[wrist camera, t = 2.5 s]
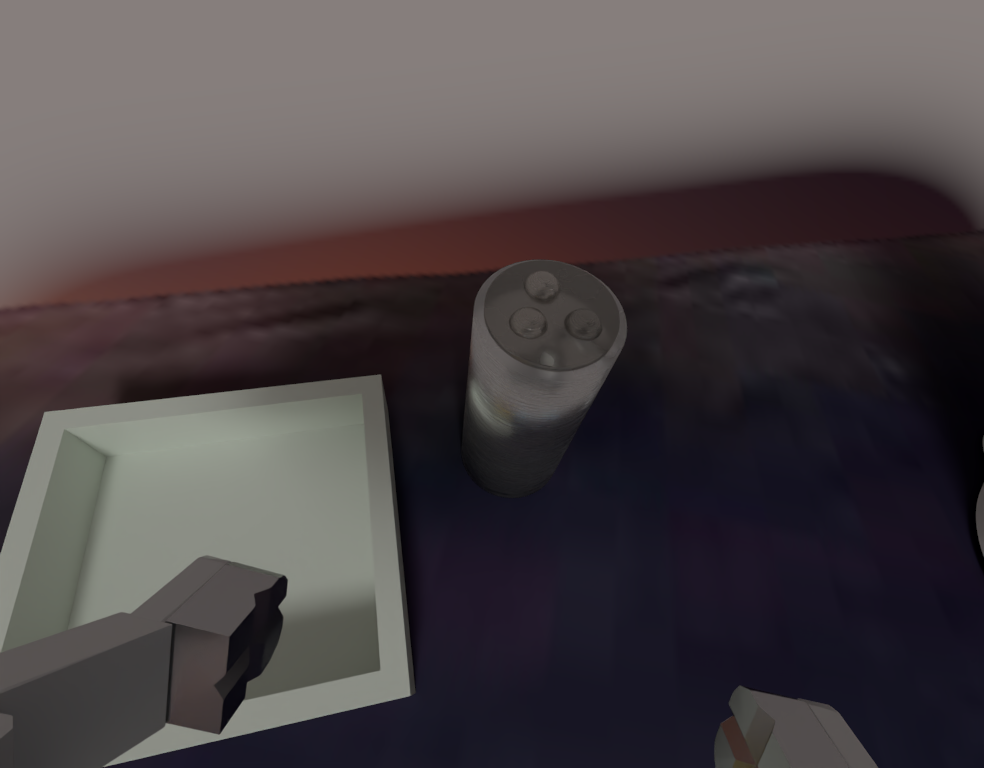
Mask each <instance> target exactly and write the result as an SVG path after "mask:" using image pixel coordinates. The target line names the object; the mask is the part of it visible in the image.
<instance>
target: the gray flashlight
mask: <svg viewBox="0 0 984 768" xmlns="http://www.w3.org/2000/svg"><path fill="white" fill-rule="evenodd" d="M626 334H627V322H626V317H625V314H624V311H623V308H622V306H621V304H620V302H619V300H618V299H617V297H616V296H615V294H614V293H613V292H612V291H611V290H610V289H609V287H607V286H606V285H605V284H604V283H603V282H602V281H601V280H599V279H598V278H597V277H595V276H594V275H592V274H590V273H589V272H587V271H585V270H583V269H581V268H579V267H576V266H573V265H570V264H567V263H563V262H559V261H553V260H527V261H522V262H517V263H514V264H511V265H508V266H506V267H504V268H502V269H500V270H498V271H497V272H495V273H494V274H492V275H491V276H490V277H489V278H488V279H487V280H486V281H485V282H484V284H483V285H482V286H481V288H480V290H479V291H478V294H477V296H476V299H475V304H474V312H473V323H472V334H471V345H470V356H469V367H468V379H467V390H466V401H465V412H464V423H463V434H462V445H461V455H462V461H463V464H464V467H465V469H466V471H467V473H468V475H469V476H470V477H471V479H472V480H473V481H474V482H475V483H476V484H477V485H478V486H479V487H481V488H482V489H483V490H485V491H487V492H489V493H491V494H493V495H496V496H500V497H505V498H520V497H524V496H528V495H531V494H533V493H535V492H537V491H538V490H540V489H541V488H542V487H544V486H545V485H546V484H547V483H548V481H549V480H550V479H551V477H552V475H553V473H554V472H555V470H556V468H557V466H558V464H559V462H560V461H561V459H562V457H563V455H564V453H565V452H566V450H567V448H568V446H569V444H570V443H571V441H572V439H573V437H574V435H575V433H576V432H577V430H578V428H579V426H580V424H581V423H582V421H583V419H584V417H585V415H586V414H587V412H588V410H589V408H590V406H591V404H592V403H593V401H594V399H595V397H596V395H597V394H598V392H599V390H600V388H601V386H602V385H603V383H604V381H605V379H606V377H607V375H608V374H609V372H610V370H611V368H612V366H613V365H614V363H615V361H616V359H617V357H618V356H619V354H620V352H621V350H622V348H623V346H624V343H625V340H626Z"/></svg>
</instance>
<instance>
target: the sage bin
mask: <svg viewBox="0 0 984 768" xmlns="http://www.w3.org/2000/svg"><path fill="white" fill-rule="evenodd" d="M206 555H209V556H213V557H216V558H220V559H224V560H228V561H231V562H237V563H241V564H244V565H248V566H252V567H256V568H259V569H263V570H267V571H271V572H274V573H278V574H282V575H285V576H286V578H287V579H288V585H287V596H286V597H285V599H284V600H283V601H282V602H281V604H280V605H279V606H278V607H279V609H280V611H281V613H282V615H283V617H284V619H283V626H282V631H281V635H280V638H279V642H278V644H277V647H276V649H275V651H274V653H273V655H272V657H271V660H270V662H269V663H268V665H267V666H266V668H265V669H264V671H263V672H262V674H261V675H260V676H258V677H256V678H254V679H252V680H251V681H249V682H247V687H246V695H245V699H244V700H243V702H242V703H241V705H240V706H239V707H238V709H237V710H236V712H235V713H234V715H233V716H232V718H231V719H230V720H229V722H228V723H227V725H226V726H225V728H224V729H223V731H222V732H221V734H220V735H218V734H214V733H209V732H205V731H200V730H195V729H191V728H186V727H182V726H177V725H172V724H168V723H166V724H165V727H164V728H162V729H161V730H159V731H158V732H156V733H155V734H153V735H152V736H150V737H148V738H147V739H145V740H144V741H142V742H141V743H139V744H137V745H136V746H134V747H133V748H131V749H130V750H128V751H127V752H125V753H123V754H122V755H120V756H119V757H117V758H116V759H114V760H113V761H111V762H109V763H108V764H106V765H105V766H110V765H114V764H118V763H123V762H127V761H131V760H135V759H140V758H144V757H148V756H153V755H157V754H161V753H166V752H170V751H174V750H179V749H183V748H187V747H192V746H196V745H200V744H205V743H209V742H213V741H217V740H222V739H226V738H230V737H235V736H239V735H243V734H248V733H252V732H256V731H261V730H265V729H269V728H274V727H278V726H282V725H287V724H291V723H295V722H300V721H304V720H308V719H312V718H317V717H321V716H325V715H330V714H334V713H338V712H343V711H347V710H351V709H356V708H360V707H364V706H369V705H373V704H377V703H382V702H386V701H390V700H394V699H399V698H403V697H407V696H411V695H413V694H414V693H415V682H414V672H413V662H412V651H411V641H410V631H409V620H408V610H407V600H406V589H405V579H404V569H403V558H402V548H401V538H400V527H399V517H398V507H397V496H396V486H395V476H394V465H393V455H392V445H391V434H390V424H389V414H388V407H387V402H386V397H385V392H384V387H383V382H382V377H381V374H380V375H371V376H363V377H354V378H345V379H336V380H327V381H318V382H309V383H300V384H291V385H283V386H274V387H265V388H256V389H247V390H238V391H229V392H220V393H211V394H203V395H194V396H185V397H176V398H167V399H158V400H149V401H140V402H131V403H123V404H114V405H105V406H96V407H87V408H78V409H69V410H60V411H51V412H45V413H44V416H43V419H42V423H41V426H40V429H39V432H38V435H37V439H36V442H35V445H34V448H33V451H32V455H31V458H30V461H29V464H28V467H27V471H26V474H25V477H24V480H23V484H22V487H21V490H20V493H19V496H18V500H17V503H16V506H15V509H14V512H13V516H12V519H11V522H10V525H9V528H8V532H7V535H6V538H5V541H4V544H3V548H2V551H1V554H0V653H1V652H4V651H7V650H10V649H13V648H16V647H19V646H22V645H25V644H28V643H31V642H34V641H37V640H40V639H43V638H46V637H48V636H51V635H54V634H57V633H60V632H63V631H66V630H69V629H72V628H75V627H78V626H81V625H84V624H87V623H90V622H93V621H96V620H99V619H102V618H105V617H108V616H111V615H113V614H116V613H119V612H125V613H129V614H131V613H132V612H133V611H134V610H136V609H137V608H138V607H139V606H141V605H142V604H143V603H144V602H145V601H147V600H148V599H149V598H150V597H151V596H153V595H154V594H155V593H156V592H157V591H159V590H160V589H161V588H162V587H163V586H165V585H166V584H167V583H168V582H169V581H171V580H172V579H173V578H174V577H175V576H177V575H178V574H179V573H180V572H181V571H183V570H184V569H185V568H186V567H187V566H189V565H190V564H191V563H192V562H193V561H195V560H196V559H197V558H199V557H202V556H206ZM105 766H103V767H105Z"/></svg>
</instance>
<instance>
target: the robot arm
mask: <svg viewBox="0 0 984 768" xmlns="http://www.w3.org/2000/svg"><path fill="white" fill-rule="evenodd" d="M983 451H984V436H983ZM976 526H977V533H978V538H979V543H980V546H981V550H982V553H983V556H984V483H983V486H982V488H981V491H980V493H979V496H978V500H977V506H976ZM287 585H288V579H287V578H286V576H285V575H282V574H278V573H274V572H271V571H267V570H263V569H259V568H256V567H252V566H248V565H244V564H241V563H237V562H231V561H228V560H224V559H220V558H216V557H213V556H209V555H206V556H202V557H199V558H197V559H196V560H195V561H193V562H192V563H191V564H190V565H189V566H187V567H186V568H185V569H184V570H183V571H181V572H180V573H179V574H178V575H177V576H175V577H174V578H173V579H172V580H171V581H169V582H168V583H167V584H166V585H165V586H163V587H162V588H161V589H160V590H159V591H157V592H156V593H155V594H154V595H153V596H151V597H150V598H149V599H148V600H147V601H145V602H144V603H143V604H142V605H141V606H139V607H138V608H137V609H136V610H134V611H133V612H132V613H131V614H129V613H125V612H119V613H116V614H113V615H111V616H108V617H105V618H102V619H99V620H96V621H93V622H90V623H87V624H84V625H81V626H78V627H75V628H72V629H69V630H66V631H63V632H60V633H57V634H54V635H51V636H48V637H46V638H43V639H40V640H37V641H34V642H31V643H28V644H25V645H22V646H19V647H16V648H13V649H10V650H7V651H4V652H1V653H0V768H102V767H103V766H105V765H106V764H108V763H109V762H111V761H113V760H114V759H116V758H117V757H119V756H120V755H122V754H123V753H125V752H127V751H128V750H130V749H131V748H133V747H134V746H136V745H137V744H139V743H141V742H142V741H144V740H145V739H147V738H148V737H150V736H152V735H153V734H155V733H156V732H158V731H159V730H161V729H162V728H164V727H165V724H166V723H168V724H172V725H177V726H182V727H186V728H191V729H195V730H200V731H205V732H209V733H214V734H218V735H220V734H221V732H222V731H223V729H224V728H225V726H226V725H227V723H228V722H229V720H230V719H231V718H232V716H233V715H234V713H235V712H236V710H237V709H238V707H239V706H240V705H241V703H242V702H243V700H244V699H245V695H246V687H247V682H249V681H251V680H252V679H254V678H256V677H258V676H260V675H261V674H262V672H263V671H264V669H265V668H266V666H267V665H268V663H269V662H270V660H271V657H272V655H273V653H274V651H275V649H276V647H277V644H278V642H279V638H280V635H281V631H282V626H283V619H284V617H283V615H282V613H281V611H280V609H279V607H278V606H279V605H280V604H281V602H282V601H283V600H284V599H285V597H286V596H287ZM729 705H730V708H731V710H732V713H733V716H732V717H730V718H729V719H727V720H726V721H724V722H723V723H721V724H720V727H719V730H718V732H717V735H716V738H715V757H714V759H715V764H716V768H878V767H877V765H876V764H875V763H874V761H873V760H872V758H871V757H870V756H869V754H868V753H867V751H866V750H865V749H864V747H863V746H862V744H861V743H860V742H859V740H858V739H857V738H856V736H855V735H854V733H853V732H852V731H851V729H850V728H849V726H848V725H847V724H846V722H845V721H844V719H843V718H842V717H841V715H840V714H839V713H838V712H837V711H836V710H835V709H834V708H832V707H831V706H830V705H827V704H822V703H818V702H813V701H808V700H804V699H795V698H791V697H787V696H783V695H778V694H774V693H770V692H766V691H761V690H757V689H753V688H749V687H744V686H739V687H738V688H737V689H736V690H735V691H734V692H733V694H732V697H731V699H730V701H729Z"/></svg>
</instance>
